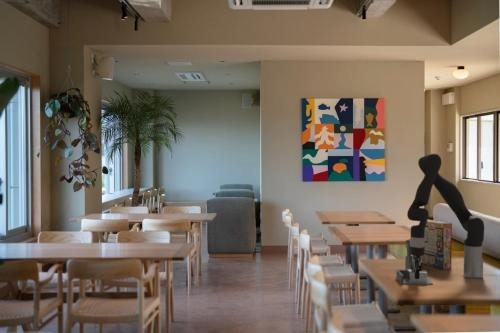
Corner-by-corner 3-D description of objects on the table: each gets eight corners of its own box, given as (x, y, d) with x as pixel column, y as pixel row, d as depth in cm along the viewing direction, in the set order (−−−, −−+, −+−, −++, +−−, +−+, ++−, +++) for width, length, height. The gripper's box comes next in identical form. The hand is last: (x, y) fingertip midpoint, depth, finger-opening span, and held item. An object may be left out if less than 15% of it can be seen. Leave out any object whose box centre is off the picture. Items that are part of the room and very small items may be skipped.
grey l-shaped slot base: (426, 278, 294) (426, 270, 294) (432, 284, 281) (432, 275, 281) (396, 278, 295) (396, 269, 295) (401, 284, 282) (401, 275, 282)
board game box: (451, 269, 318) (452, 223, 317) (443, 269, 315) (444, 223, 314) (427, 262, 337) (428, 219, 336) (419, 263, 334) (420, 219, 333)
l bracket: (409, 281, 284) (409, 272, 284) (406, 278, 291) (406, 269, 291) (426, 282, 284) (427, 272, 284) (423, 278, 291) (423, 269, 291)
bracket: (413, 276, 299) (414, 240, 299) (400, 274, 303) (401, 239, 302) (423, 266, 324) (423, 233, 323) (410, 265, 327) (411, 232, 326)
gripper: (407, 243, 292) (406, 275, 292) (413, 247, 278) (412, 281, 278) (421, 243, 291) (420, 275, 292) (427, 248, 277) (427, 281, 278)
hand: (416, 278), depth 285 cm, fingers closed on l bracket
